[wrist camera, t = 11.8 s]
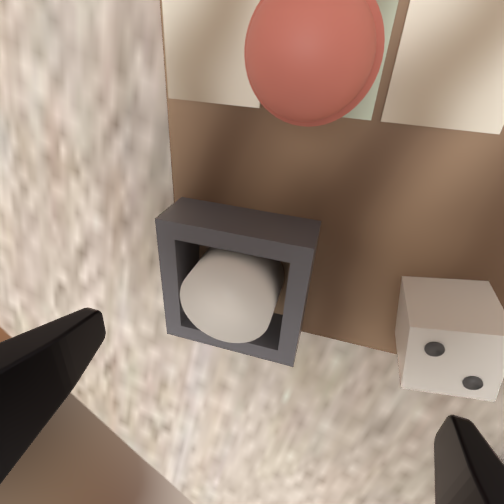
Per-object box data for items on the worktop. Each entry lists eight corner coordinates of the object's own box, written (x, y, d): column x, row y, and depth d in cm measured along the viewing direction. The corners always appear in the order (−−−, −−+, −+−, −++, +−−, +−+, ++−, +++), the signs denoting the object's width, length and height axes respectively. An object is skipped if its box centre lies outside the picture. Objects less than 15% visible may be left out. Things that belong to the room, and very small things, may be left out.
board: (884, -151, 9) (925, -166, 8) (512, 374, 20) (517, 385, 19) (158, -124, 13) (147, -133, 12) (184, 296, 24) (179, 303, 24)
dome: (288, 243, 19) (275, 278, 16) (279, 312, 21) (266, 352, 18) (203, 227, 20) (177, 257, 17) (205, 294, 22) (182, 330, 19)
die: (488, 281, 17) (519, 339, 14) (472, 340, 19) (495, 403, 16) (401, 275, 18) (410, 328, 15) (394, 332, 20) (400, 389, 17)
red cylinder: (386, 1, 13) (416, -53, 6) (361, 106, 14) (364, 151, 8) (290, -5, 13) (223, -61, 7) (279, 96, 15) (218, 130, 9)
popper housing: (321, 221, 18) (314, 249, 15) (301, 331, 22) (293, 366, 20) (181, 196, 19) (155, 218, 17) (187, 303, 24) (167, 333, 21)
